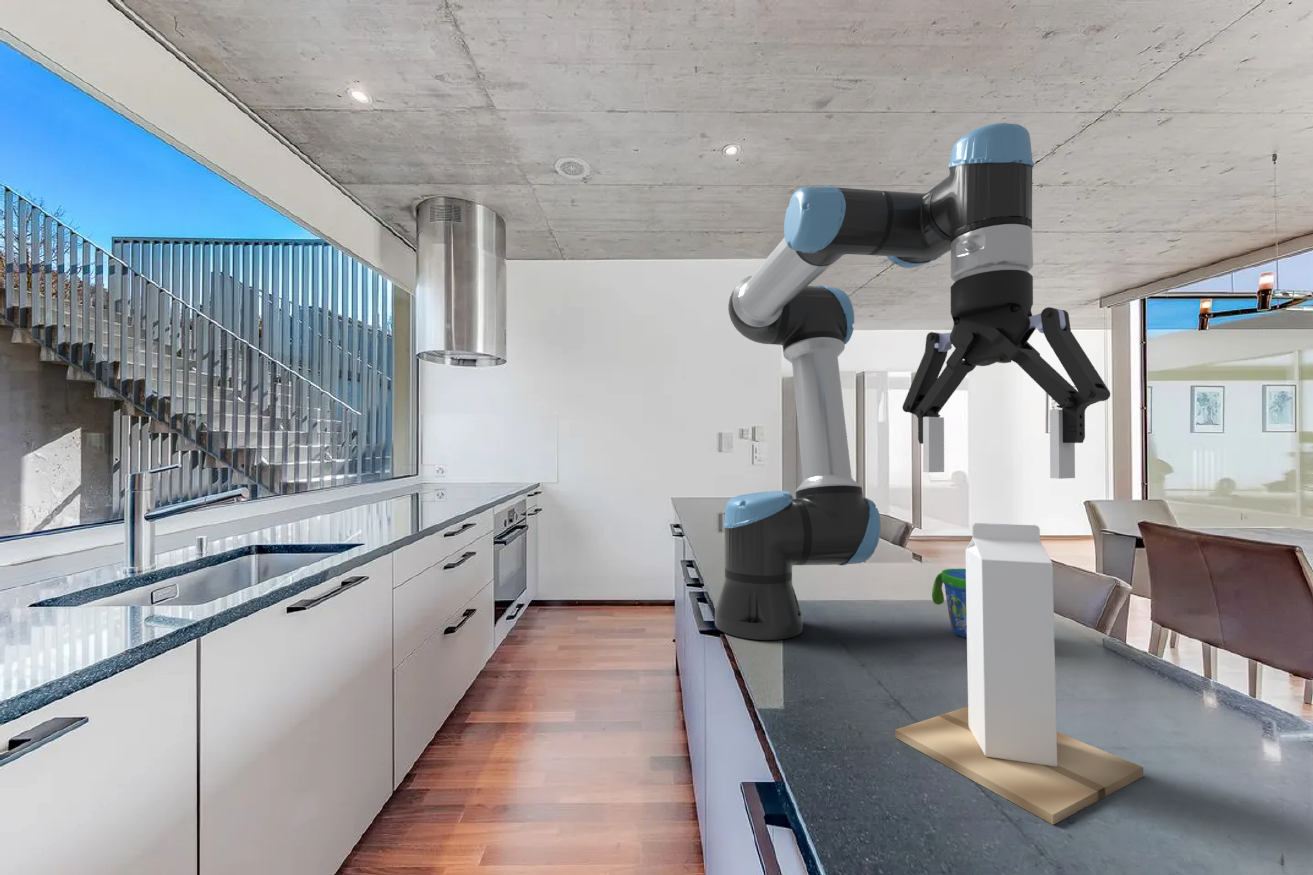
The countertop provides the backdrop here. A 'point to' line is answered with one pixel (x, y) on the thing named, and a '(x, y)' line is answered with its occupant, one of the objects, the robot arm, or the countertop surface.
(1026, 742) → the milk
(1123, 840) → the countertop surface
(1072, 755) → the flat cardboard box
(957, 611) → the snack cup
